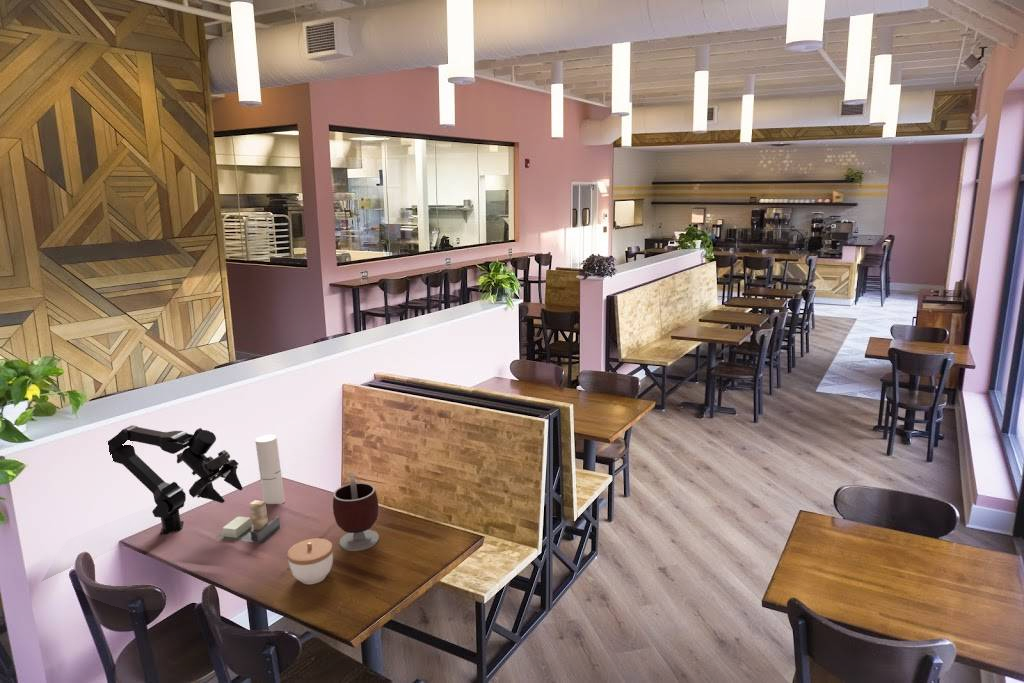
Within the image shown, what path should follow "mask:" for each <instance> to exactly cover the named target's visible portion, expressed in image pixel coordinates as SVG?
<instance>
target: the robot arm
mask: <svg viewBox="0 0 1024 683" xmlns="http://www.w3.org/2000/svg"><path fill="white" fill-rule="evenodd" d="M127 440H130V441H133V442H136V443H140V444H141V443H142V444H146V445H150V446H156V447H160V448H159V449H161V450H162V451H164V452H166V453H168V454H174V455H175V454H177V453H178V452H180V451H182V452H180V453H178V454H177V455H176V464H181V463H182V462H183V463H184V464H186V465H187V467H188V468H190V470H191V471H192V472H191V475H193V476H196V475H197V476H198V477H199V479H197V480H196V481H195V482H193V484H192V486H191V487H190V488H189V489H188V493H189V495H190V496H191V497H192V499H194V498H195V497H197V498H198V499H199V498H202V499H207V500H210V501H214V502H217V503H219V504H224V503H225V501H226V500H225V499H224V498H223V496H222V495H220V493H219V492H218V491H217V490H216V489H215V488H214V485H213V482H214V481H216V480H218V479H219V478H221V479H223V481H225V482H226V483H228V485H230V486H232V487H234V488H235V489H237V490H239V491H242V490H243V485H242V484H241V482H240V480H239V477H238V475H237V469H238V468H239V467H238V466H239V462H238V461H236V460H235V459H230V458H231V455H230V453H229V451H227V450H225V449H224V450H221V451H219V452H218V453H217V455H218V456H217V457H215V458H213V457H212V456H208V457H207V456H206V455H205V454H208V451H209V450H210V449H211V447H212V446H213V445H214V444H215V443H216V440H217V437H216V435H215V433H214V432H212V431H210V430H207V429H206V430H205V429H202V428H201V427H200V428H197V429H195V431H194V433H193V434H191V433H188V432H186V431H185V430H171V431H162V430H161V431H160V430H156V429H155V430H154V429H149V428H145V427H139V426H137V425H134V424H133V425H129V426H128V427H127V426H126V427H125V428H123V429H121V431H119V432H118V434H116V435H115V436H113V437H112V438H111V439H109V440H107V441H108V445H109V452H110V455H111V454H112V458H113V461H114V463H116V464H117V463H118V464H120V465H123V467H125V469H127V470H128V471H129V472H130V473H131V474H132V475H133V476H134V477H135V478H136V479H137V480H138V481H139V482H140V483H141V484H142V485H143V486H144V487H146V488H147V489H148V490H149V491H150V492H151V493H152V495H153V499H154V500H153V501H154V502H155V504H156V506H155V507H154V508H153V509H152V511H151V512H152V514H153V516H154V518H160V521H161V529H160V532H159V533H160V535H165V534H169V533H175V532H180V531H182V530H183V526H184V524H185V523H184V520H181V516H180V509H182V508H183V507H184V506H185V503H186V499H187V498H186V496H187V495H186V492H185V491H184V488H182V487H181V486H180V485H179V483H177V482H176V481H173V482H171V483H168V482H166V481H165V480H164V479H162V478H161V477H160V476H159V475H158V474H157V473H156V472H155V471H154V470H153V468H151V467H150V466H149V465H147V463H146V462H145V461H144V460H143V459H141V457H140V456H138V455H137V454H136V450H135V446H134V447H133V446H131V445H124V446H123V445H122V444H124V443H125V442H126V441H127ZM229 459H230V460H229ZM113 461H112V462H113Z"/></svg>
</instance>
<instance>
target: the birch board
mask: <svg viewBox="0 0 1024 683" xmlns="http://www.w3.org/2000/svg"><path fill="white" fill-rule="evenodd" d="M266 505H267V504H266V503H265V501H264V500H258V499H257V500H256V499H254V500H252V501H251V502H250V503H249V508H250V516H251V522H252V523H253V530H260V529H262V528H263V527H264V526H265V525H266V524H268V523H269V519H268V511H267V506H266Z"/></svg>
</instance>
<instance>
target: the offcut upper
mask: <svg viewBox="0 0 1024 683" xmlns="http://www.w3.org/2000/svg"><path fill="white" fill-rule="evenodd" d="M250 522H252V517H249V516H239V515H238V516H236V517H235V518H234V519H233V520H230V522H229V523H227V524H226V525H224V526H223V527H222V532H225V533H235V534H236V533H238V532H239V531H240V530H242V529H243V528H244V527H245V526H247V525H248V524H249V523H250Z"/></svg>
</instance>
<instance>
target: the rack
mask: <svg viewBox="0 0 1024 683" xmlns="http://www.w3.org/2000/svg"><path fill="white" fill-rule="evenodd" d="M282 527H283V526H282V525H281V521H280V516H274V518H272V519H271V520H270V521H268V524H266V525H265V526H264V527H263V528H262V529H260V530H253V523H252V526H251V527H250V528H249V529H247V530H246V531H245V532H244V533H242V534H241V535H240V536H239V537H237V538H234V537H224V536H223V531H221V532H220V533H219V534H217V535H216V536H215V537H214V539H217V540H218V539H219V540H228V541H237V542H247V543H255V544H256V543H257V544H264V543H265V542H266V541H267V540H268V539H269V538H270V537H272V536H273V535H274V534H275V533H276V532H278V531H279V530H280V529H281V528H282Z"/></svg>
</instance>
